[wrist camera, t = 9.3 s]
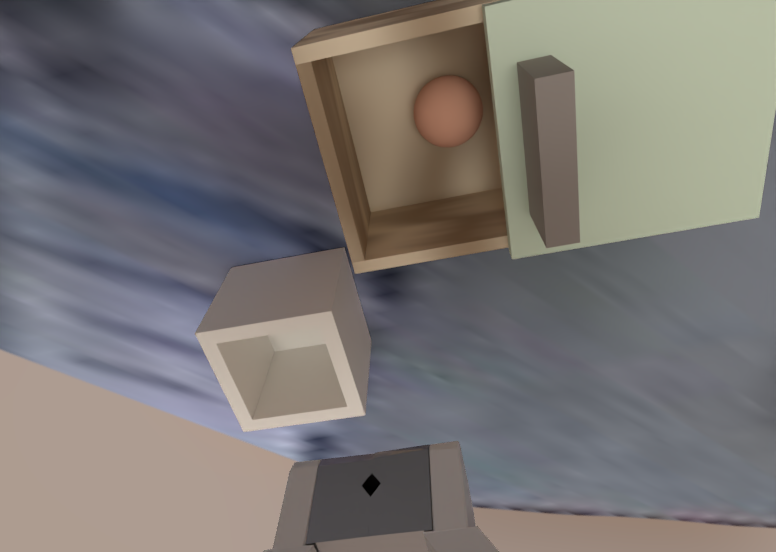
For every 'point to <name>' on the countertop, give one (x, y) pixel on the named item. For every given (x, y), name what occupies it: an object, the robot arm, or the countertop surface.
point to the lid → (629, 116)
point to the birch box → (403, 134)
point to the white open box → (289, 341)
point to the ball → (448, 111)
